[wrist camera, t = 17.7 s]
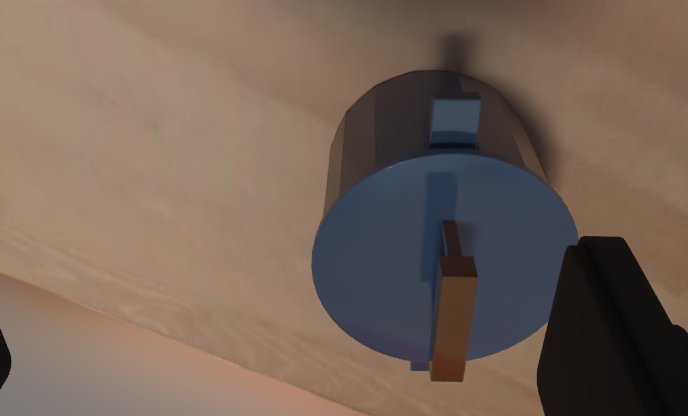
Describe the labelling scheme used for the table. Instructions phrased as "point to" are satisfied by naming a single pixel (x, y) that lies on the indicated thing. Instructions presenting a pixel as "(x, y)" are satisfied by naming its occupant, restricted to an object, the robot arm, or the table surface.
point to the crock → (424, 128)
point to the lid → (442, 257)
